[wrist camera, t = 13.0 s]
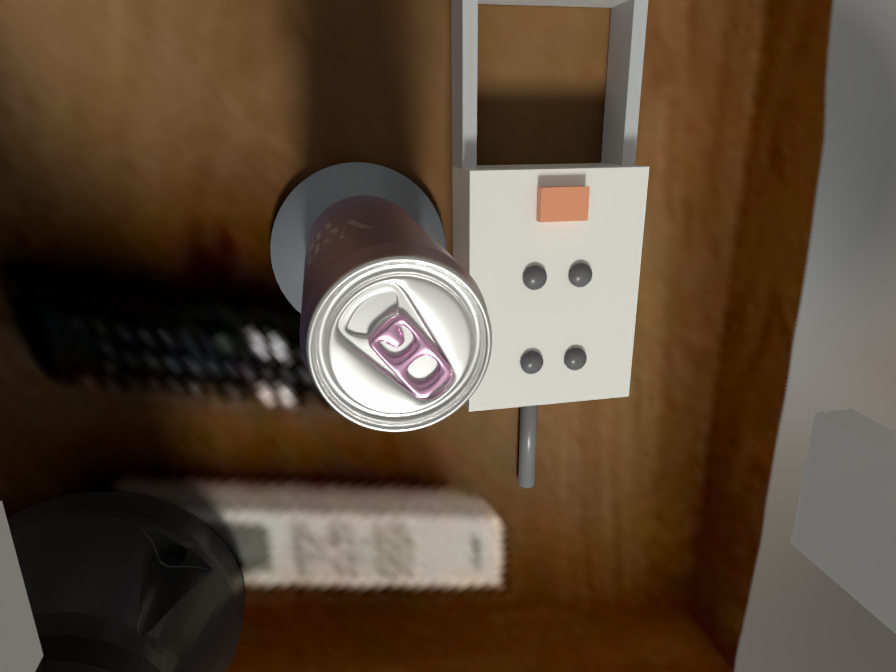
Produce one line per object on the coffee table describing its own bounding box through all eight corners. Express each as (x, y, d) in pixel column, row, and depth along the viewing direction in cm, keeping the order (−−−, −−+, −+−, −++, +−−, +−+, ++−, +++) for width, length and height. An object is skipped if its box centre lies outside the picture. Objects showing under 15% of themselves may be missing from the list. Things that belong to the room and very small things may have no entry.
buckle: (590, 471, 40) (623, 512, 36) (453, 487, 39) (471, 532, 35) (625, -8, 32) (673, -29, 28) (450, -14, 30) (473, -37, 26)
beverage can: (358, 329, 34) (390, 473, 20) (280, 246, 32) (254, 342, 18) (443, 258, 34) (535, 354, 20) (370, 168, 31) (415, 204, 17)
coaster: (279, 337, 34) (278, 340, 33) (262, 163, 31) (261, 164, 30) (444, 326, 35) (446, 329, 35) (442, 160, 33) (444, 160, 32)
